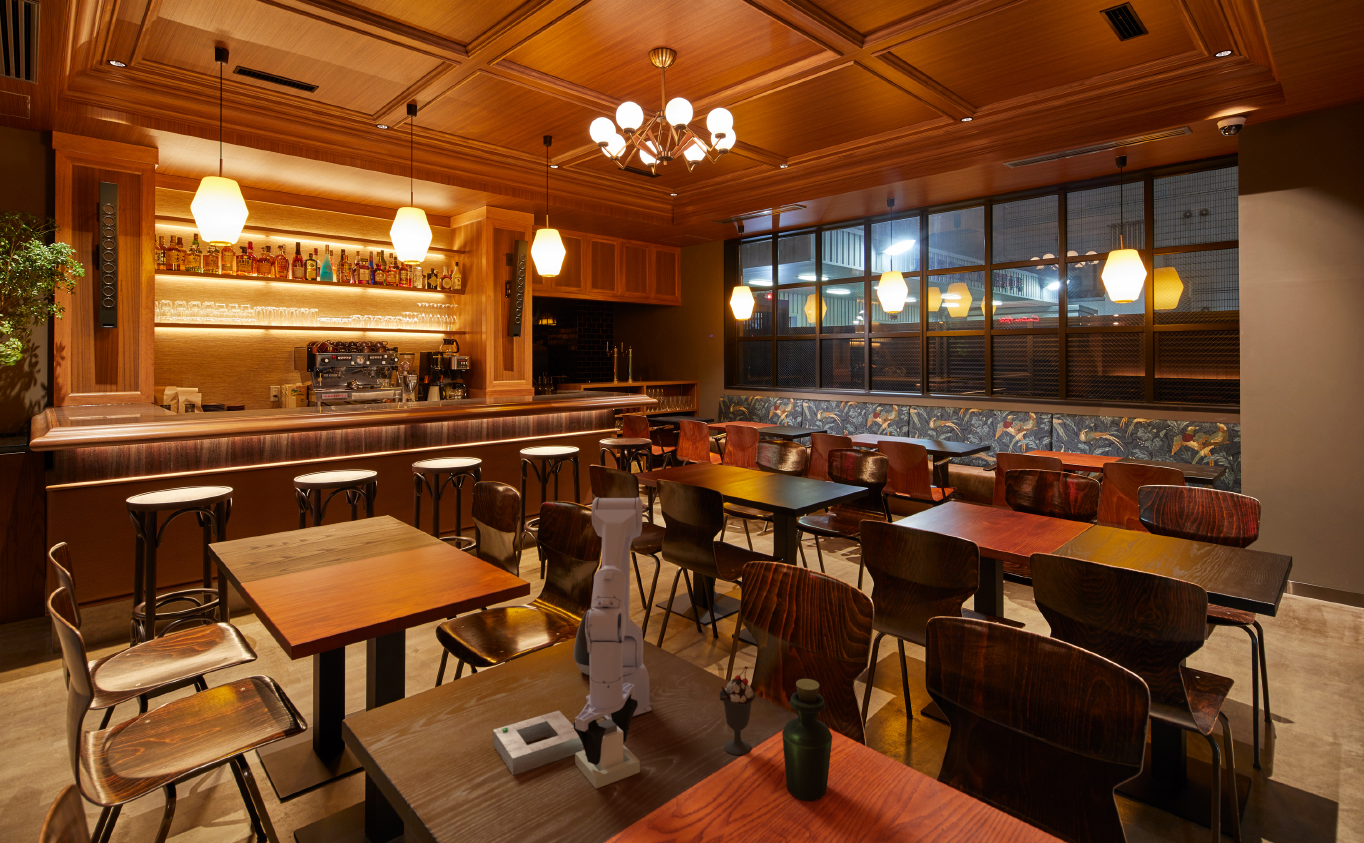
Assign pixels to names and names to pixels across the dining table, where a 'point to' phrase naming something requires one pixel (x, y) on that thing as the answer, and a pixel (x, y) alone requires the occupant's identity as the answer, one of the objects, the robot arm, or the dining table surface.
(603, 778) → the beige square frame
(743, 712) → the sundae
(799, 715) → the potion bottle
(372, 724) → the dining table surface
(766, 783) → the dining table surface
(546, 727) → the port block
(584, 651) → the dark grey rounded figure
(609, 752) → the plug
